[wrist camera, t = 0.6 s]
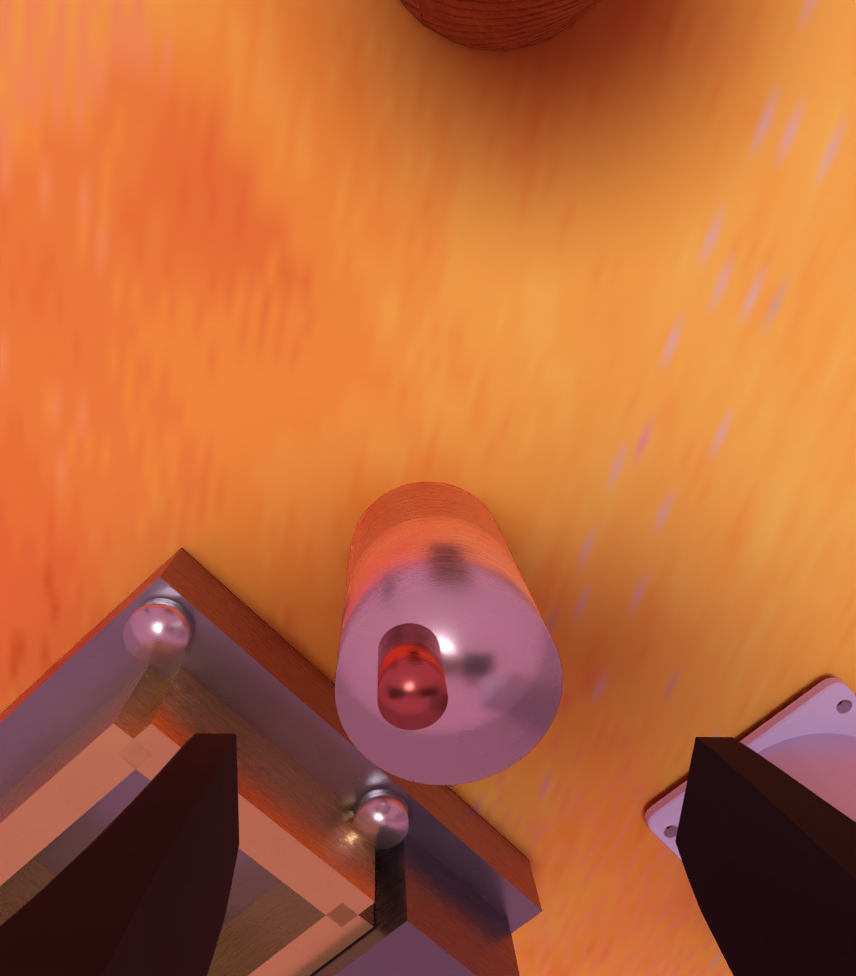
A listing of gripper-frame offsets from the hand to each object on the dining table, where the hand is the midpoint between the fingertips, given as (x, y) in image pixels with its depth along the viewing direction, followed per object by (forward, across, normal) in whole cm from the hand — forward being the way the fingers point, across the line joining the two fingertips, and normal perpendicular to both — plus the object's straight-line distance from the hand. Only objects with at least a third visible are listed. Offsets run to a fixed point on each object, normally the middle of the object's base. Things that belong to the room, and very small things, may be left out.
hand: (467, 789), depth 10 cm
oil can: (+10, 0, 0) cm, 10 cm away
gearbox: (+10, +6, +10) cm, 15 cm away
